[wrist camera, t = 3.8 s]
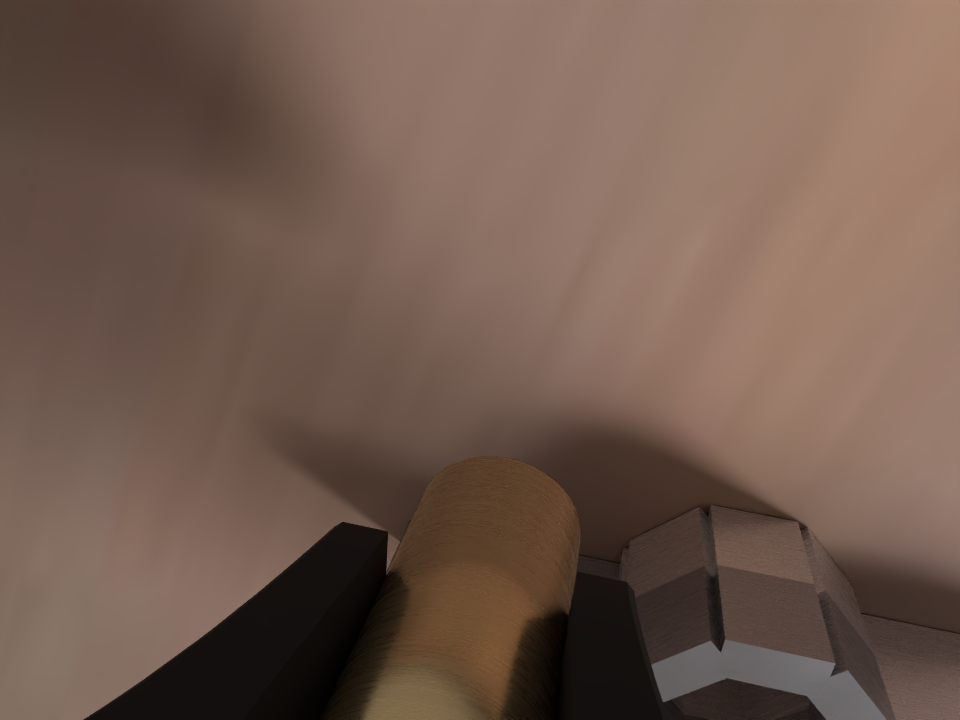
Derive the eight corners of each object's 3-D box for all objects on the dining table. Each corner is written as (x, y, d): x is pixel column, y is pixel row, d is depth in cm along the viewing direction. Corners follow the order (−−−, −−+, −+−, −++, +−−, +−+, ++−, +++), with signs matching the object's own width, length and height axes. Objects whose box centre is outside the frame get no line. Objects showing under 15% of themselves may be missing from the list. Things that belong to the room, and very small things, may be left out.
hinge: (1139, 587, 18) (1277, 759, 14) (1035, 753, 21) (1126, 936, 17) (414, 447, 20) (356, 559, 16) (404, 611, 23) (351, 742, 19)
